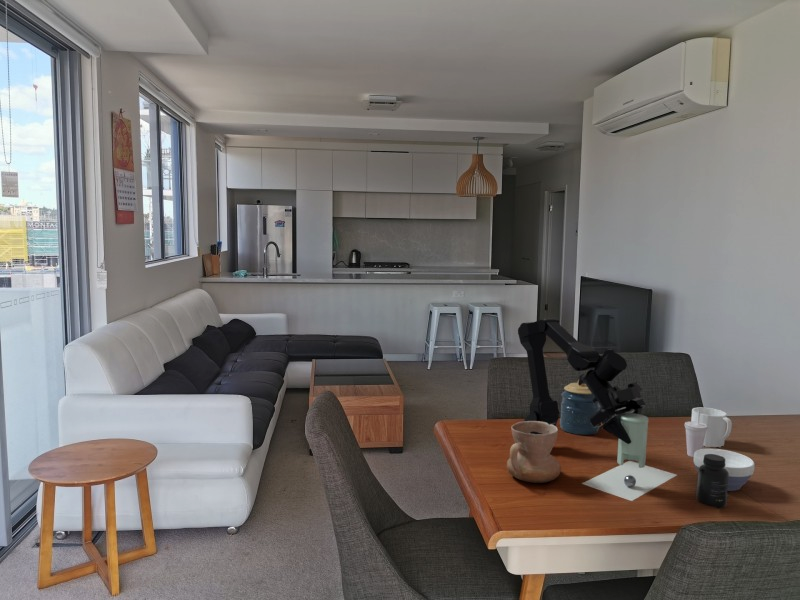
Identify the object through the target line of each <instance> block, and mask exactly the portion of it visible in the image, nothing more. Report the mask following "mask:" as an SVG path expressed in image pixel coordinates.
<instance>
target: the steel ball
mask: <svg viewBox="0 0 800 600" xmlns="http://www.w3.org/2000/svg"><path fill="white" fill-rule="evenodd" d="M624 483H625V485H626V486H628V487H633V486H635V484H636V479H635V478H634V477H633V476H631V475H628V476H626V477H625V478H624Z"/></svg>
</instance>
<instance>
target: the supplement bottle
mask: <svg viewBox="0 0 800 600" xmlns="http://www.w3.org/2000/svg"><path fill="white" fill-rule="evenodd" d="M703 463H704V464H703V465H701V466H700V467H699V469H698V470H697V482H696V483H697V484H696V485H697V486H696V498H695V499H696V501H697V502H698V503H700V504H702V505H704V506H708V507H712V508H715V509H723V508H725V507H726V506H727V504H728V502H727V501H728V492H729V491H728V479H729V473H728V471H727V470H726V469H725V468H724V467H725V458H724V457H722V456H719V455H715V454H706V455H704V460H703Z"/></svg>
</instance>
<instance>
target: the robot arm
mask: <svg viewBox="0 0 800 600" xmlns="http://www.w3.org/2000/svg"><path fill="white" fill-rule="evenodd" d="M517 334H518V338H519V342H520V345H521V346H522V347H523V348H524V350H525V351H526V355H527V361H528V364H527V365H528V369H529V377H530V384H531V390H532V399H531V402H530V405H529V414H527V416H526V417H525V418H524V419H523V421H522V422H524V421H526V422H527V421H540V422H545V423H548V424H549V425H551V424H552V425H554V426H556V427H557V423H558V421H559V418H560V416H559V415H561V412H560V411H559V403H558V401H557V400H553V398H552V396H550V391H549V389H550V388H549V383H548V375H547V369H546V368H547V367H546V362H545V355H544V347H545V345H546V342H547V337H548V338H549V339H550V340H551V341H552V342H554V344H556V346H557V347H559V348H560V349H561V350H562V351H563V353H565V354H566V360H567V362H568V363H569V365H570V366H571V367H572V369H573V370H575V371H576V372H581V371H586V373H583V374H579V376H578V377H579V378H578V380H579V381H578V380H577V383H578V384H579V385H582V384H586V386H587V387H588V389H589V390H590V392H591V393H592V394H593V396H594V397H595V398H594V399H593V402H594V403H597V402H598V403H599V406H600V410H599V411H597V412H596V413H595V414H594V415H592V416H591V417H590V423H591V425H592V426H593V428H596V427H599V429H600V430H604V431H606V432H607V433H609V434H611V435H613V436H615V437H616V438H618V440H619V439H621V440H622V441H624V442H625V443H627V444H630V443H631V440H630V438H629V436H628V434H627V432H626V431H625V429H624V427H623V425H622V424H621V414H623V413H635V414H640V415H642V411H643V410H644V407H646V405H647V404H646V403H645V401H644V400H643V399H642V395H641V394H642V391H643V388H642V387H640V385H639V384H638V383H637V382H636V381H635V382H632V383H628V384H627V388H623V389H620V387H619V386H617V385H615V386H613V384H612V383H611V382H613V381H614V380H615V379H616V378H617V377H618V376H619V375H621V373H623V372H624V371H625V370H626V369H627V367H628V363H627V361H626V359H625V358H624V357H623V356H622V355H621V354H619V353H617V352H615V350H614V349H612V348H610V349H606V350H605V351H604V352H603V354H602V355H601V354H600V353H599V352H598V350H596V349H594V348H593V347H592V346H590V345H587V344H584V343H581V342H580V341H578V340H577V339H576V338H575V337H574V336H573V335H572V334H570V333H569V331H567V330H566V329H565V328H564V327H563V326H562V325H561V324H560V323H559V322H558V320H557V319H556V318H553V317H552V318H542V319H540V320H537V321H534V322H533V321H532V322H531V321H530V322H522V323H520V325H519V327H518V328H517ZM530 433H531V434H535V435H536V434H541V433H538V432H534V431H533V432H530Z"/></svg>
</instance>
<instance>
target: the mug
mask: <svg viewBox="0 0 800 600" xmlns="http://www.w3.org/2000/svg"><path fill="white" fill-rule="evenodd" d="M698 411H700V420H699V422H700V423H703V424H706V425H707V426H708V428H707V430H706V434H705V439H704V443H703V447H704V446H705V448H710V447H719V448H722V447H721V446H723V447H724V446H725V442H726V441H725V440H726V439H727V438H728V437H730V434H731V431H732V426H733V423H732V420H731V419H730V417H727V415H728V413H727V412H725V411H723V410H720V409H718V408H712V407H700V406H699V407H693V408H692V409H691V421H690V422H697V419H698Z"/></svg>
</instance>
